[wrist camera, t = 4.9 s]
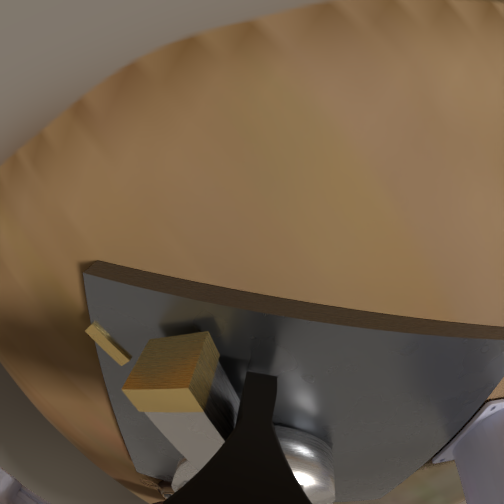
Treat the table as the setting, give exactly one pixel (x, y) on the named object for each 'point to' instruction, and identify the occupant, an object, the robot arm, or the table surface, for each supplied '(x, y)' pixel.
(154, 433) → the plate
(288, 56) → the table surface
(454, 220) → the table surface
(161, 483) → the compass
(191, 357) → the silver disc with handle
